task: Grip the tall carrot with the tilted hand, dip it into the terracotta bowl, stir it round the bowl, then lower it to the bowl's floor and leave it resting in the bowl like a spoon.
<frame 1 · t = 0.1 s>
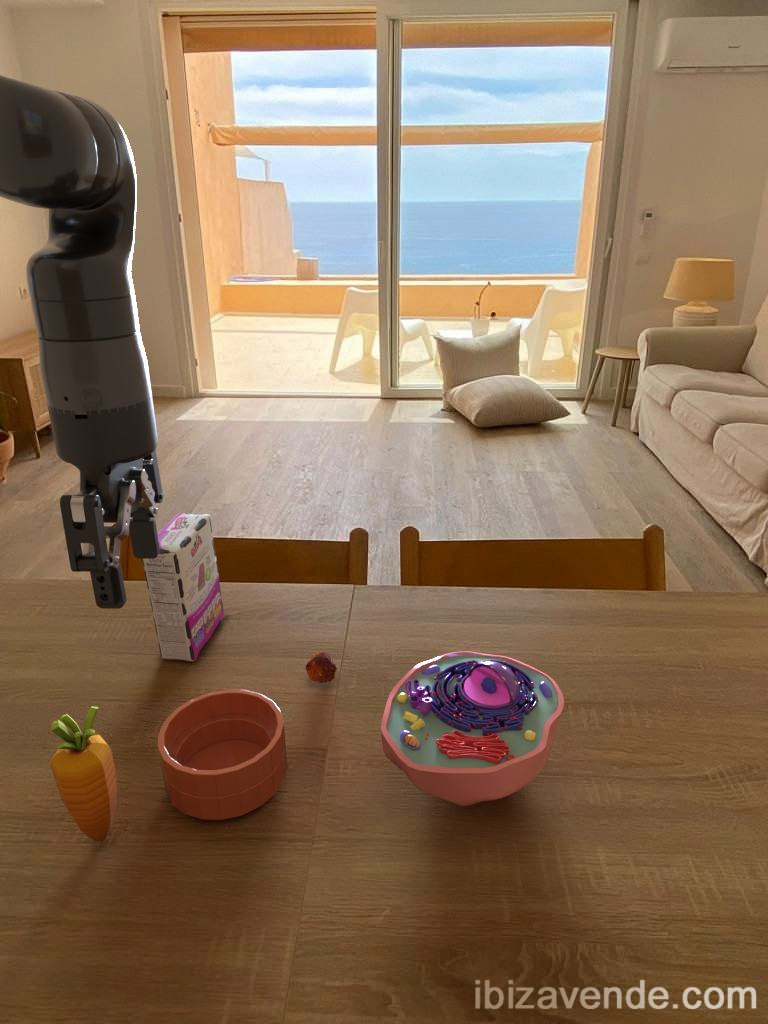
hand: (130, 580, 59), 25 cm above the table, tool pointing down, fingers open, 8 cm apart
carrot: (102, 841, 65), on the table
meatball: (323, 682, 86), on the table
cell model: (468, 769, 73), on the table
mixing bowl: (228, 777, 72), on the table
candy bar box: (193, 639, 95), on the table
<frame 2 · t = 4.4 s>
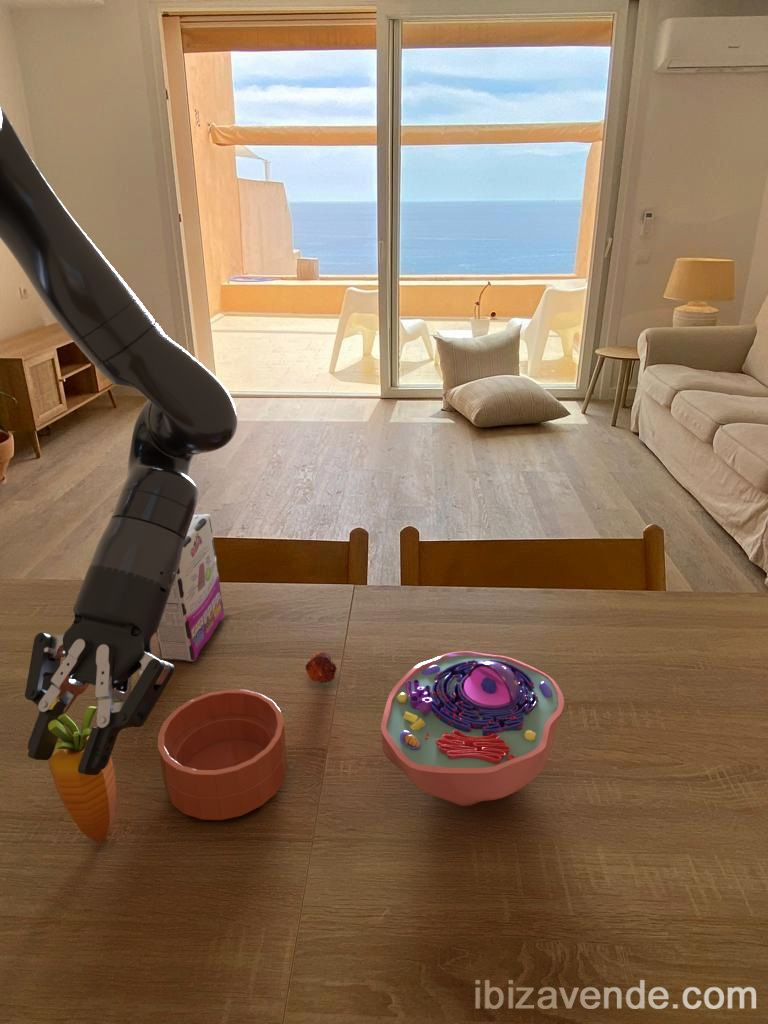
hand: (63, 765, 59), 11 cm above the table, tool tilted 45°, fingers closed on carrot, 4 cm apart
carrot: (101, 841, 65), on the table, touching gripper
everything else where it was.
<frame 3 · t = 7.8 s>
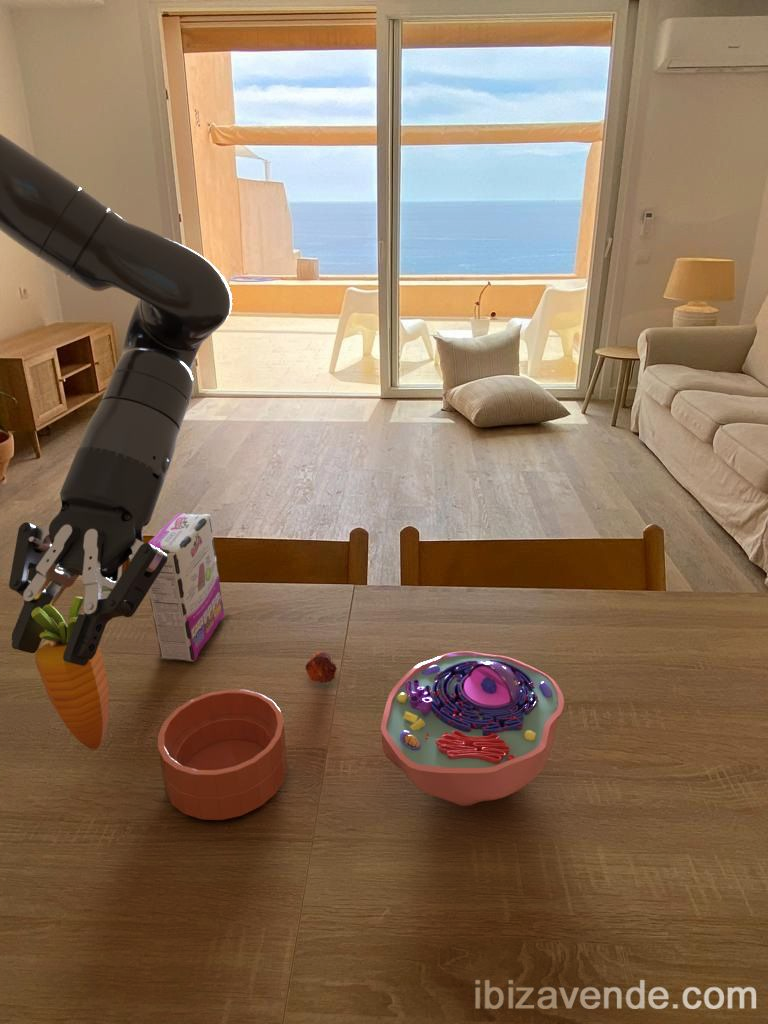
hand: (48, 656, 55), 22 cm above the table, tool tilted 45°, fingers closed on carrot, 4 cm apart
carrot: (96, 749, 61), point 10 cm above the table, touching gripper
everything else where it was.
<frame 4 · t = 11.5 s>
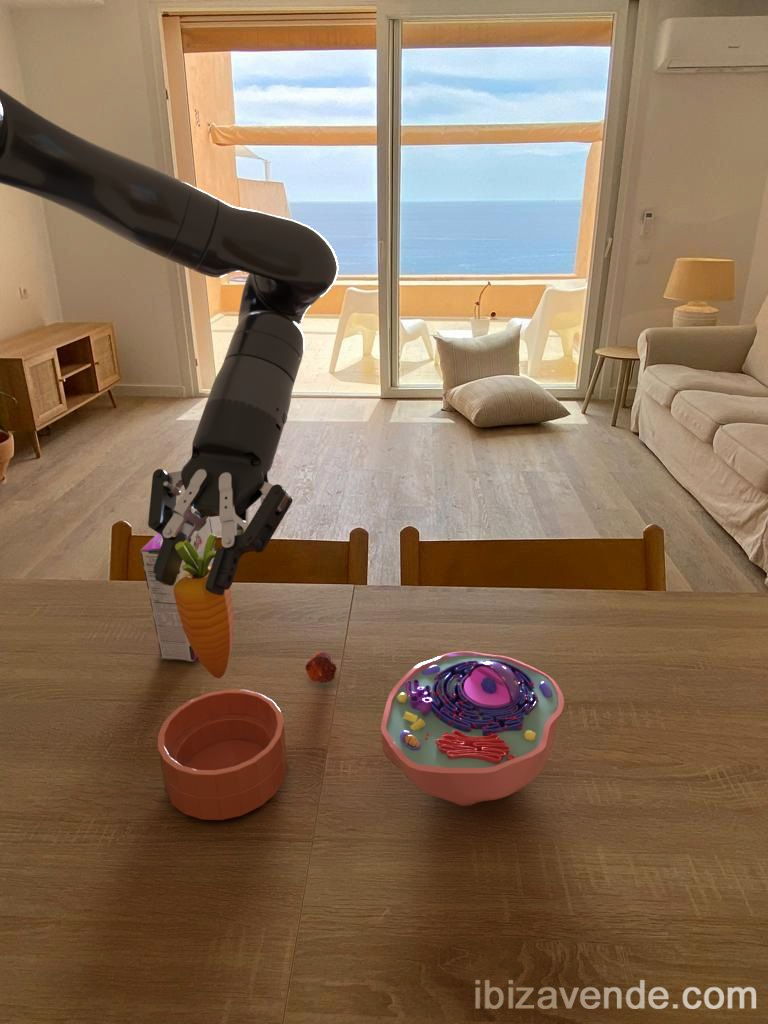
hand: (189, 586, 61), 24 cm above the table, tool tilted 45°, fingers closed on carrot, 4 cm apart
carrot: (219, 679, 67), point 13 cm above the table, touching gripper
everything else where it was.
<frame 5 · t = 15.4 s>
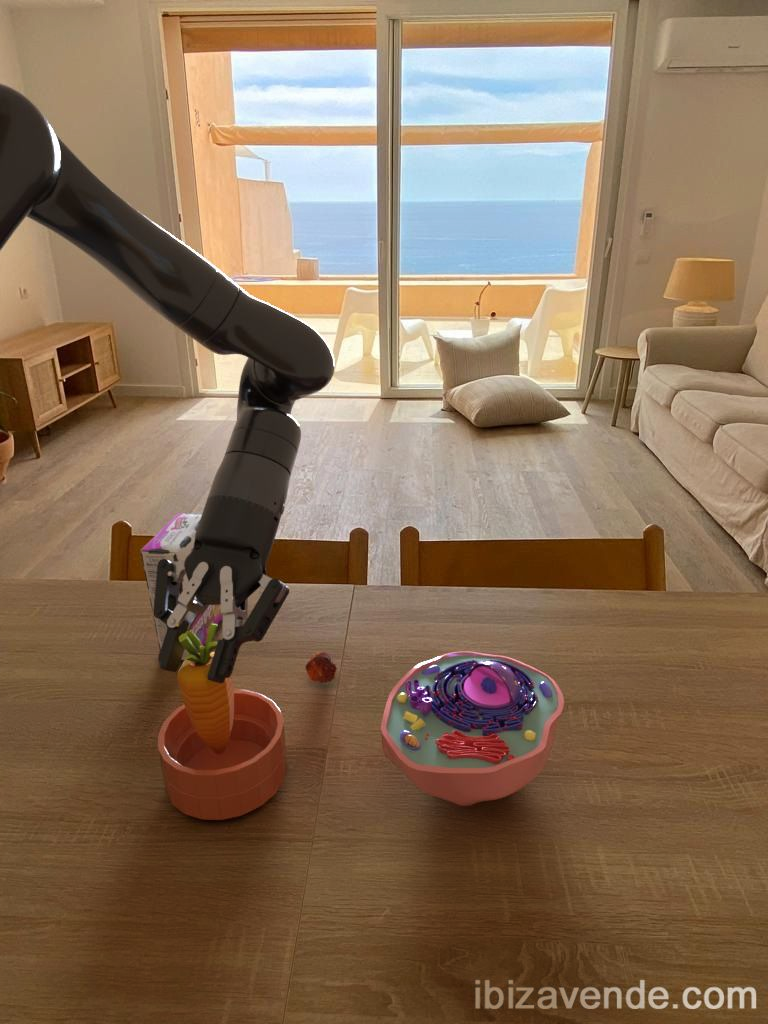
hand: (191, 675, 65), 14 cm above the table, tool tilted 45°, fingers closed on carrot, 4 cm apart
carrot: (220, 754, 71), point 3 cm above the table, touching gripper
everything else where it was.
when the fingers open (12 cm above the table, at t = 18.5 s): carrot stays where it is, resting on mixing bowl.
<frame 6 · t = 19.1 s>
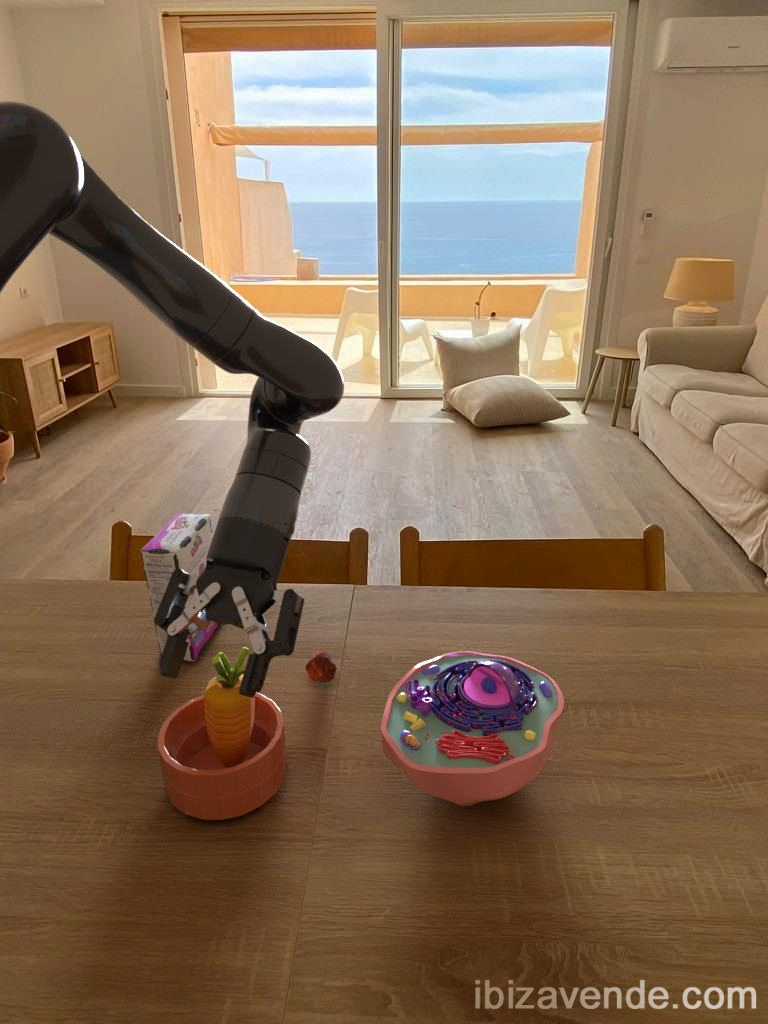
hand: (206, 686, 66), 13 cm above the table, tool tilted 45°, fingers open, 8 cm apart
carrot: (232, 772, 72), point 1 cm above the table, touching mixing bowl
everything else where it was.
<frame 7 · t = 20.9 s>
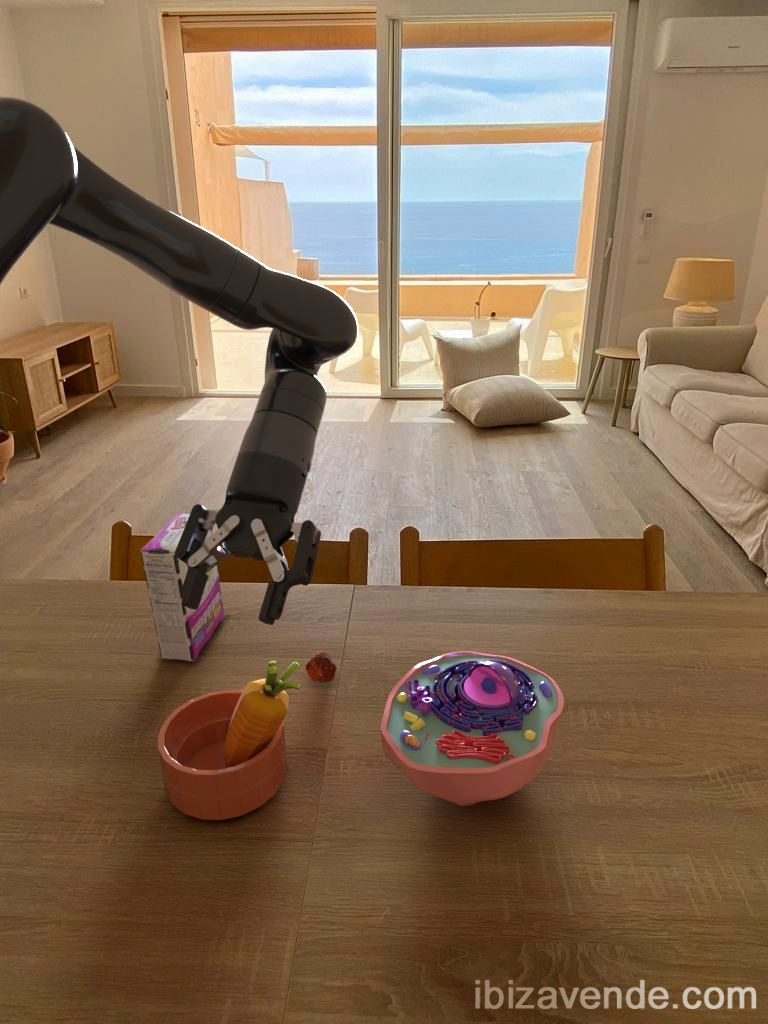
hand: (226, 615, 67), 18 cm above the table, tool tilted 45°, fingers open, 8 cm apart
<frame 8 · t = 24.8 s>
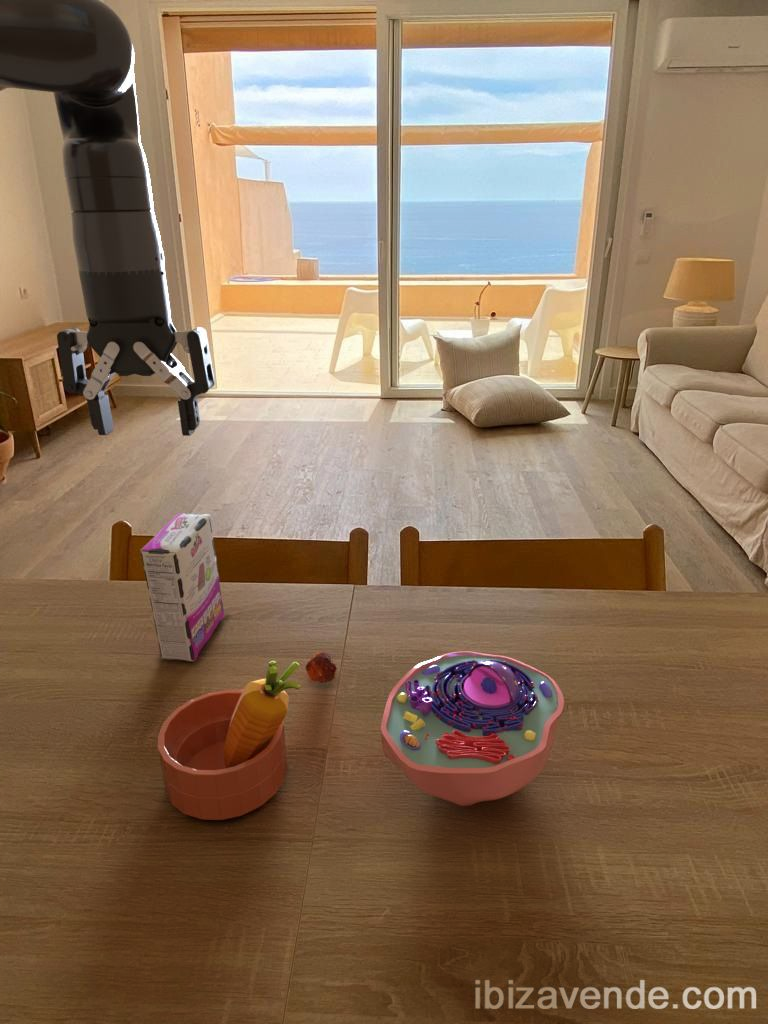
hand: (148, 433, 71), 33 cm above the table, tool pointing down, fingers open, 8 cm apart
at the end: carrot 0.2 cm from the mixing bowl (horizontally); carrot point 0.9 cm above the table; the gripper is holding nothing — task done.
